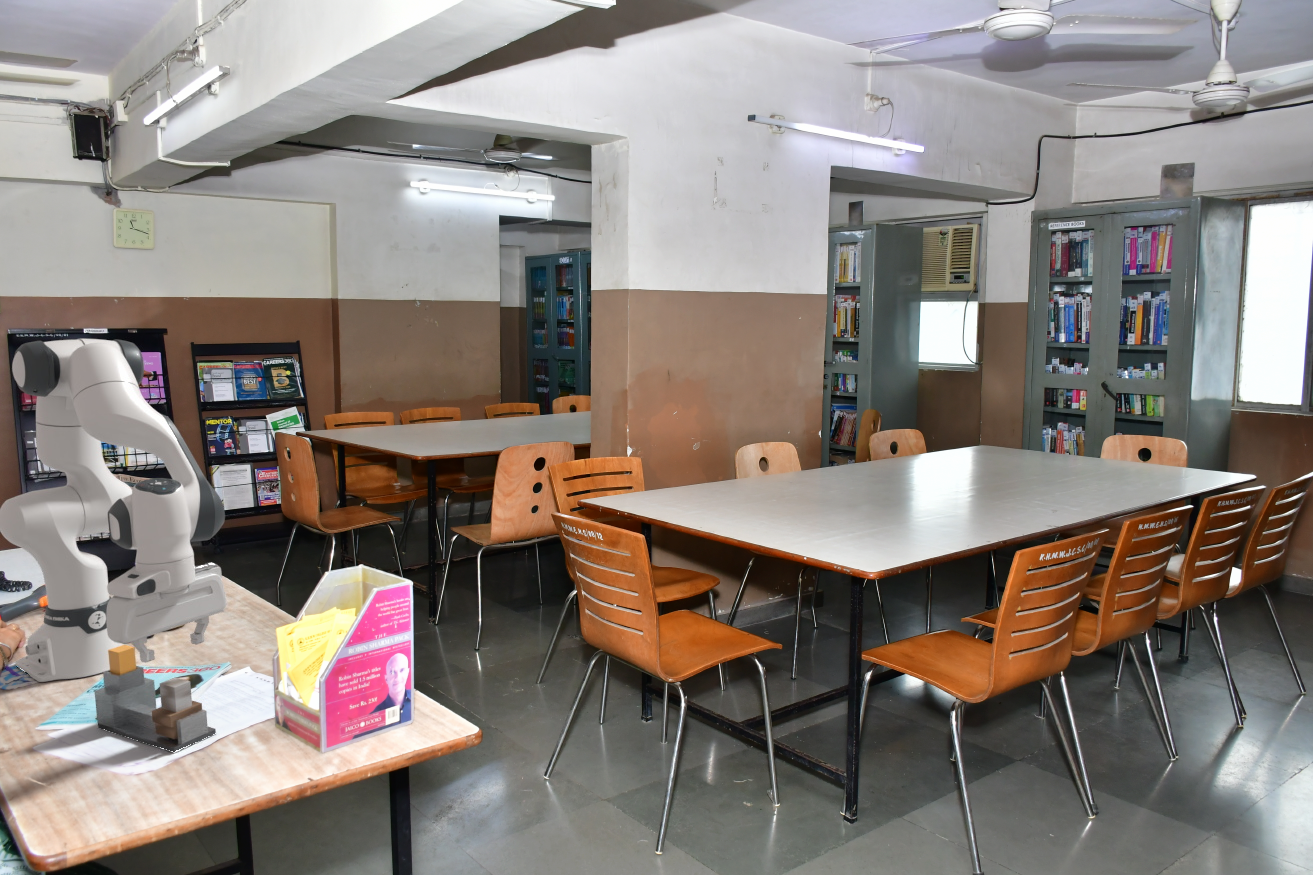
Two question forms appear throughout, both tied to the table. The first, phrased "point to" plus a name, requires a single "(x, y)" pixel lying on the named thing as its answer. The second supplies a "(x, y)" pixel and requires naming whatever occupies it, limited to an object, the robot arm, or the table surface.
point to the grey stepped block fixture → (142, 712)
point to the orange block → (122, 659)
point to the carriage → (173, 706)
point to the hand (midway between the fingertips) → (173, 651)
